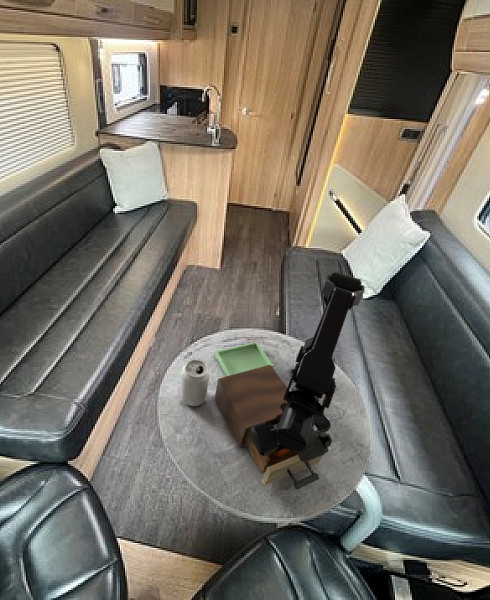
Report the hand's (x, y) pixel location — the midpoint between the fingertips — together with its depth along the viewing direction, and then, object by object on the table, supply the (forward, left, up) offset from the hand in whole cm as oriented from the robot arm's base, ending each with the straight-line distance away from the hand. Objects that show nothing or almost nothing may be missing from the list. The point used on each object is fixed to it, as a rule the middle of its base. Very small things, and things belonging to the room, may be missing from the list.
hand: (281, 448), depth 77 cm
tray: (-6, -30, -3) cm, 31 cm away
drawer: (0, 0, -2) cm, 2 cm away
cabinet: (0, -13, -3) cm, 13 cm away
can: (+14, -23, -3) cm, 27 cm away
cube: (0, -1, -1) cm, 1 cm away
